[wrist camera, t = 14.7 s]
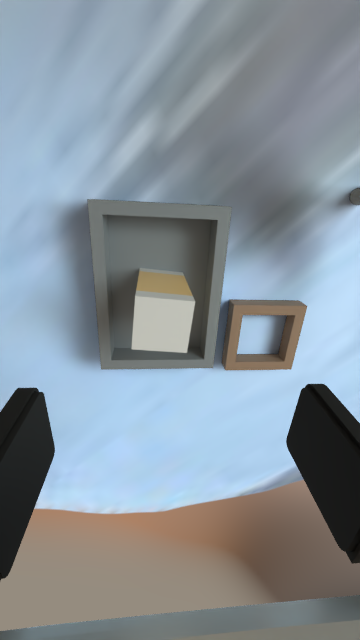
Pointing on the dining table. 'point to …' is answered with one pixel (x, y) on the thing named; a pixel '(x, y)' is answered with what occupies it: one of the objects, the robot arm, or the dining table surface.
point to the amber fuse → (162, 311)
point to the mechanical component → (355, 196)
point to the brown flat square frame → (288, 341)
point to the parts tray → (160, 254)
